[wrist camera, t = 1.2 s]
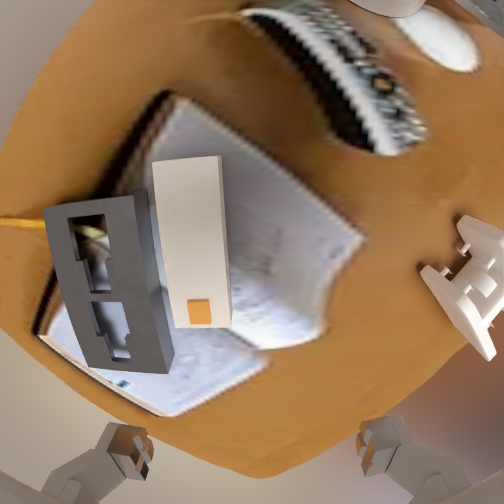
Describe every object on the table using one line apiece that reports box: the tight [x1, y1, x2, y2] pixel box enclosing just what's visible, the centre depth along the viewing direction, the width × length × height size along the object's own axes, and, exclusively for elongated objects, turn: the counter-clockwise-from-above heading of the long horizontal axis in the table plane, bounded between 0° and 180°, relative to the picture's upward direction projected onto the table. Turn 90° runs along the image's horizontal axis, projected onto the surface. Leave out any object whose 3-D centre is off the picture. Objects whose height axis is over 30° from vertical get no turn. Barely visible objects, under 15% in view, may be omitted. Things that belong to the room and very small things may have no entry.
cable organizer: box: [420, 215, 504, 361], centre depth 29 cm, size 15×11×12 cm
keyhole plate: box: [43, 189, 174, 374], centre depth 33 cm, size 22×12×4 cm, turn 3°
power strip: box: [152, 155, 232, 328], centre depth 29 cm, size 16×6×8 cm, turn 3°
